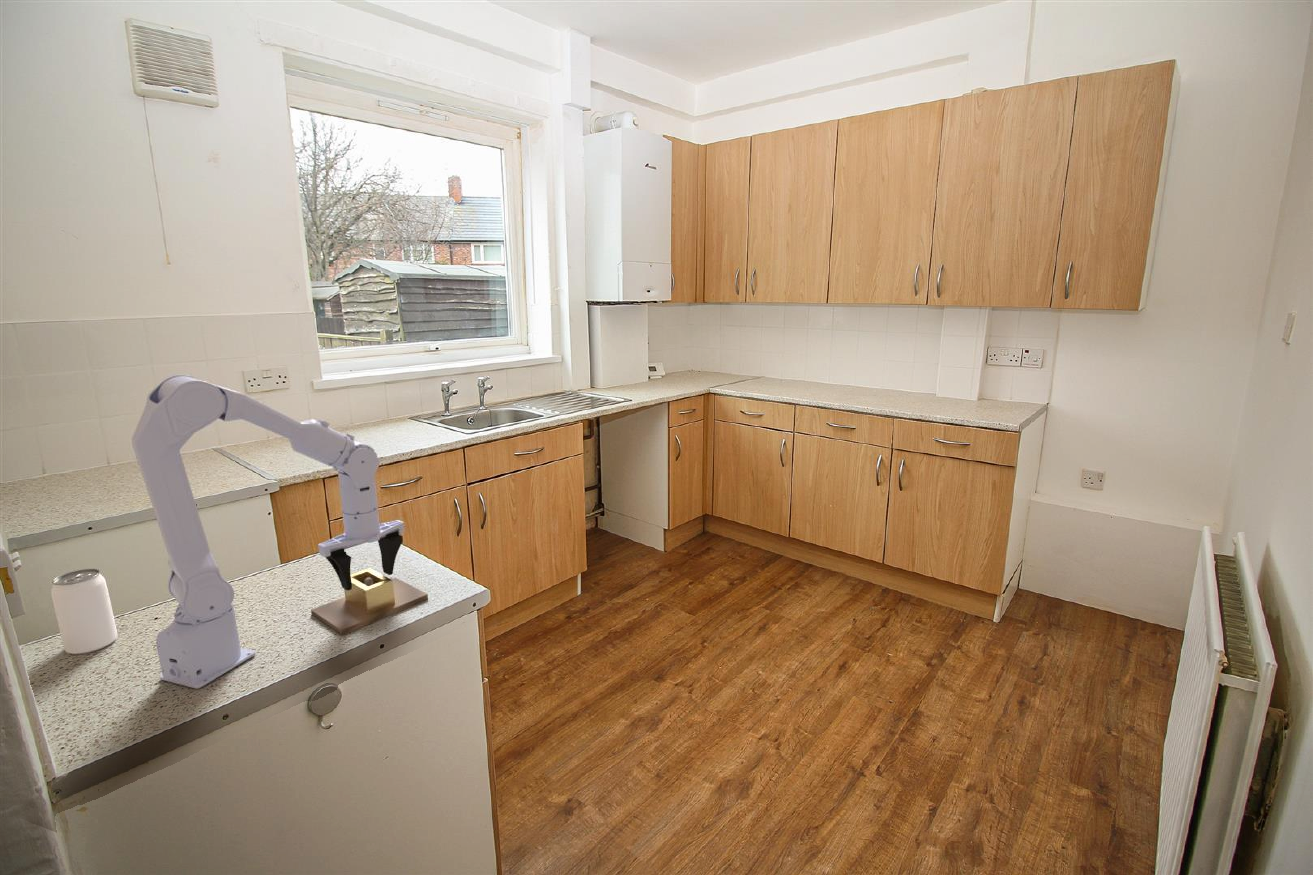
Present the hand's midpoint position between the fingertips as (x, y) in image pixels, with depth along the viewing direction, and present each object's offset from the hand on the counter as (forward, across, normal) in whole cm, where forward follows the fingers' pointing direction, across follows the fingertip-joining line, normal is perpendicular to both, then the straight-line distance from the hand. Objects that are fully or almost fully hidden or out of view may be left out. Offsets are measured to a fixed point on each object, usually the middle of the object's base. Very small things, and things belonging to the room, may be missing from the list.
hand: (368, 580), depth 112 cm
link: (+4, 0, 0) cm, 4 cm away
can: (+6, -34, +24) cm, 42 cm away
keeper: (+5, 0, 0) cm, 5 cm away
